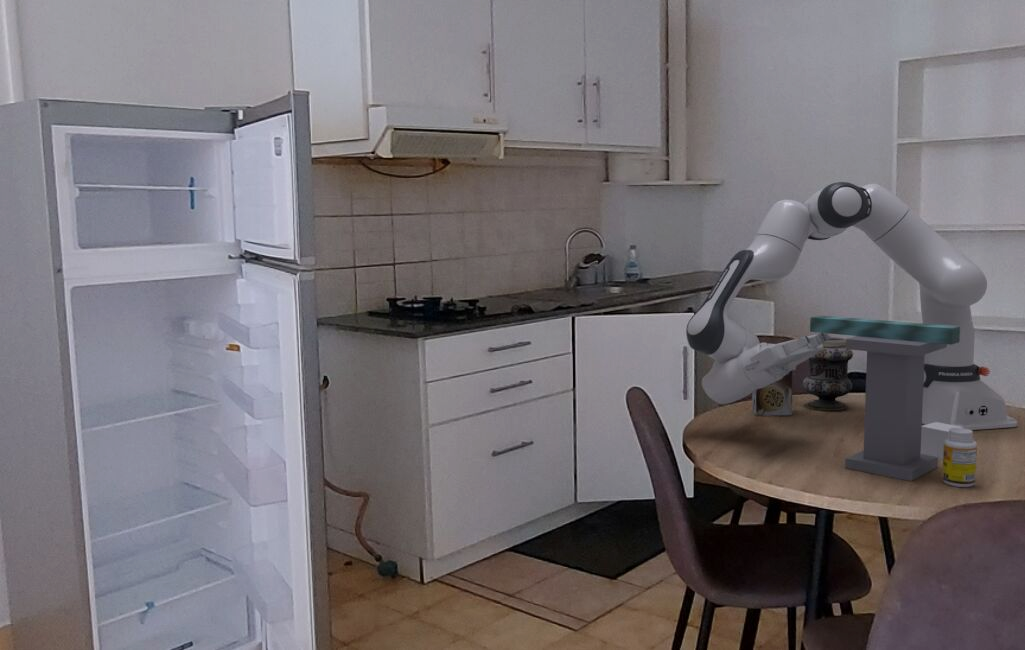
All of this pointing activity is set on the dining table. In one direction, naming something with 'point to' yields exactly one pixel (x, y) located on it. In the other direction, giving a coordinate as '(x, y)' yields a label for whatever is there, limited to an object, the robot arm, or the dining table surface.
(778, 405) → the coffee box
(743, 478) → the dining table surface
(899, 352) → the pedestal
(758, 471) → the dining table surface
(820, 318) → the teal block
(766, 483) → the dining table surface
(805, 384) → the apothecary jar
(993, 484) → the dining table surface
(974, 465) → the supplement bottle
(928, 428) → the grey cube piece
